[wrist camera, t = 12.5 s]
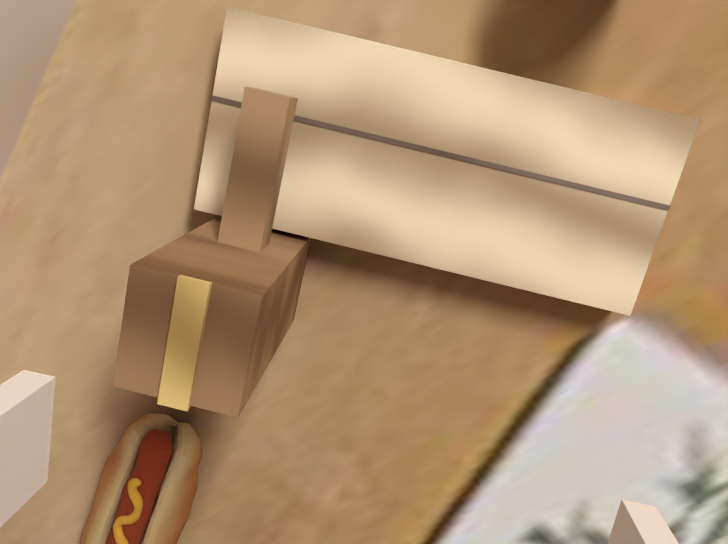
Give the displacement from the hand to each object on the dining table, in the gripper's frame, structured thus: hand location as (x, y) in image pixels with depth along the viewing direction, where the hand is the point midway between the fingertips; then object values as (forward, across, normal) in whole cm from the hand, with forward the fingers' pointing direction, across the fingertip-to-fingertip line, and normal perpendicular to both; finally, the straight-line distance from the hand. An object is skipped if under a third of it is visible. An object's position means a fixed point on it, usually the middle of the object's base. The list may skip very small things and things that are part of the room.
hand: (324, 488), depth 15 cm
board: (+21, -2, -6) cm, 22 cm away
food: (+22, +11, +17) cm, 30 cm away
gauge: (+21, +7, -2) cm, 23 cm away
